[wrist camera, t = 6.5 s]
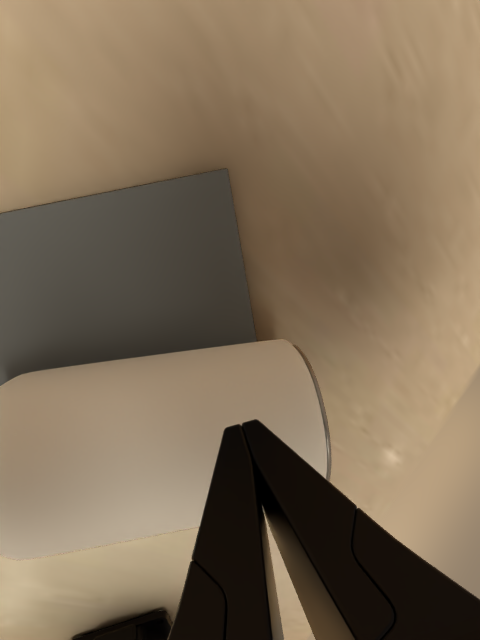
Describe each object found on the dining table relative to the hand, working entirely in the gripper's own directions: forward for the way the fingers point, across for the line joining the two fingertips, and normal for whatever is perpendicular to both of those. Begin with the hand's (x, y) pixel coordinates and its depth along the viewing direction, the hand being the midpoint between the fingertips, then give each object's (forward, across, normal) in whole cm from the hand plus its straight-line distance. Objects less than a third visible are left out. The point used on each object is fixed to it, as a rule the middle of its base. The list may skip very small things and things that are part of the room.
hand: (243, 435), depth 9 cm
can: (+4, -3, +4) cm, 7 cm away
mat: (+8, +5, 0) cm, 9 cm away
